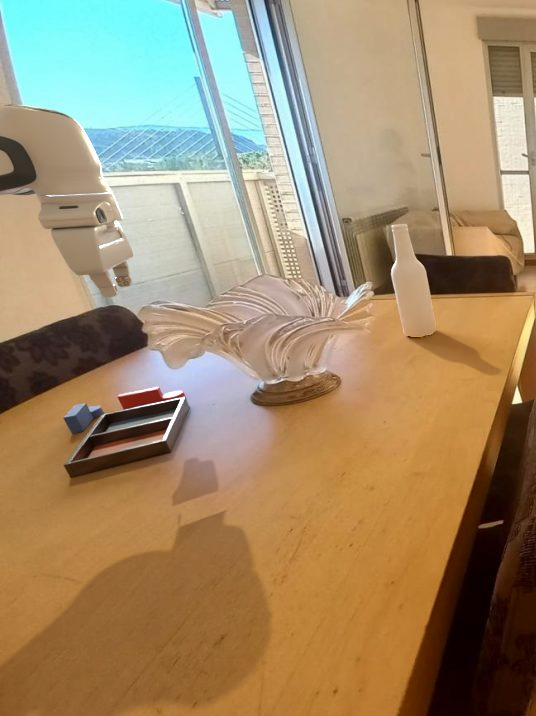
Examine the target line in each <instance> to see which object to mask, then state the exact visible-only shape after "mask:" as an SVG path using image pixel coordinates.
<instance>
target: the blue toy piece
mask: <svg viewBox="0 0 536 716" xmlns="http://www.w3.org/2000/svg"><path fill="white" fill-rule="evenodd" d="M102 414H105V413H104V410H103V408H102V406H101V405H89V406H88V404H87V403H86V402H83V403H79V404H74V405H73V406H72V407H71V409H69V411H68V412H67V413H66V414H65V415H64V416H63V417H62V418H63V420H64V423H65V424H66V426H67V427H68V430H69V431H70V433H71V434H77V433H81V432H85V430H86V429H87V428H88V427H89V425H90V424H91V423H92V421H93V420H94V419H96V418H99V417H100V416H101V415H102Z"/></svg>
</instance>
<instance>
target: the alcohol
mask: <svg viewBox="0 0 536 716" xmlns="http://www.w3.org/2000/svg"><path fill="white" fill-rule="evenodd" d="M408 226H409V225H408V224H407V223H396V224H392V225H391V226H390V228H391V233H392V237H393V243H394V251H395V252H394V253H395V262H394V264H393V265H392V267H391V272H390V276H391V281H392V285H393V290H394V294H395V300H396V304H397V309H398V313H399V318H400V323H401V327H402V332H403V335H405V336H406V335H407V336H422V335H427V334H430V333H432V332H434V331H435V332H436V331H437V323H436V318H435V312H434V307H433V301H432V296H431V290H430V285H429V280H428V275H427V270H426V268H425V266H424V265H423V264H422V263H421V262H420V261H419V260H418V259H417V257H416V254H415V252H414V247H413V244H412V240H411V236H410V233H409V232H410V231H409V228H408ZM407 336H406V337H407Z"/></svg>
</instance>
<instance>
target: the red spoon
mask: <svg viewBox="0 0 536 716" xmlns="http://www.w3.org/2000/svg"><path fill="white" fill-rule="evenodd" d="M182 397H185V398H186V399H187V397H186V393H185V392H184V390H174V391H173V390H172V391H168V392H166V393H164V394H163V392H162V390H161V387H160V386H154V387H149V388H144V389H138V390H133V391H128V392H123V393H119V394H118V396H117V399H118V401H119V403H120V405H121V408H122V410H125V409H130V408H135V407H139V406H144V405H149V404H154V403H158V402H163V401H168V400H173V399H177V398H182Z"/></svg>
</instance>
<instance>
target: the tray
mask: <svg viewBox="0 0 536 716" xmlns="http://www.w3.org/2000/svg"><path fill="white" fill-rule="evenodd" d="M189 411H190V405H189V402H188V400H187V397H186V398H185V397H182V398H177V399H173V400H168V401H163V402H158V403H154V404H149V405H144V406H139V407H135V408H130V409H125V410H124V409H121V410H116V411H112V412H106V413H103V414H102V415H100V416H98V419H96V421H95V422H94V424H93V425H92V426H91V428H90V429H89V430H88V432H87V433H86V435H85V436H84V437H83V439H82V440H81V441H80V442H79V444H78V445H77V447H76V448H75V449H74V450H73V452H72V453H71V454H70V456H69V457H68V458H67V460H66V461H65V462H64V463H63V465H62V466H63V467H64V470H65V471H66V472H67V474H68V476H69V478H71V479H72V478H75V477H76V478H77V477H79V476H83V475H88V474H92V473H95V472H99V471H102V470H107V469H111V468H115V467H120V466H123V465H126V464H130V463H134V462H139V461H143V460H147V459H151V458H154V457H158V456H163V455H167V454H170V453H171V454H172V452H173V450H174V447H175V444H176V442H177V439H178V437H179V434H180V433H181V429H182V427H183V424H184V423H185V420H186V417H187V415H188V412H189Z"/></svg>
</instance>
